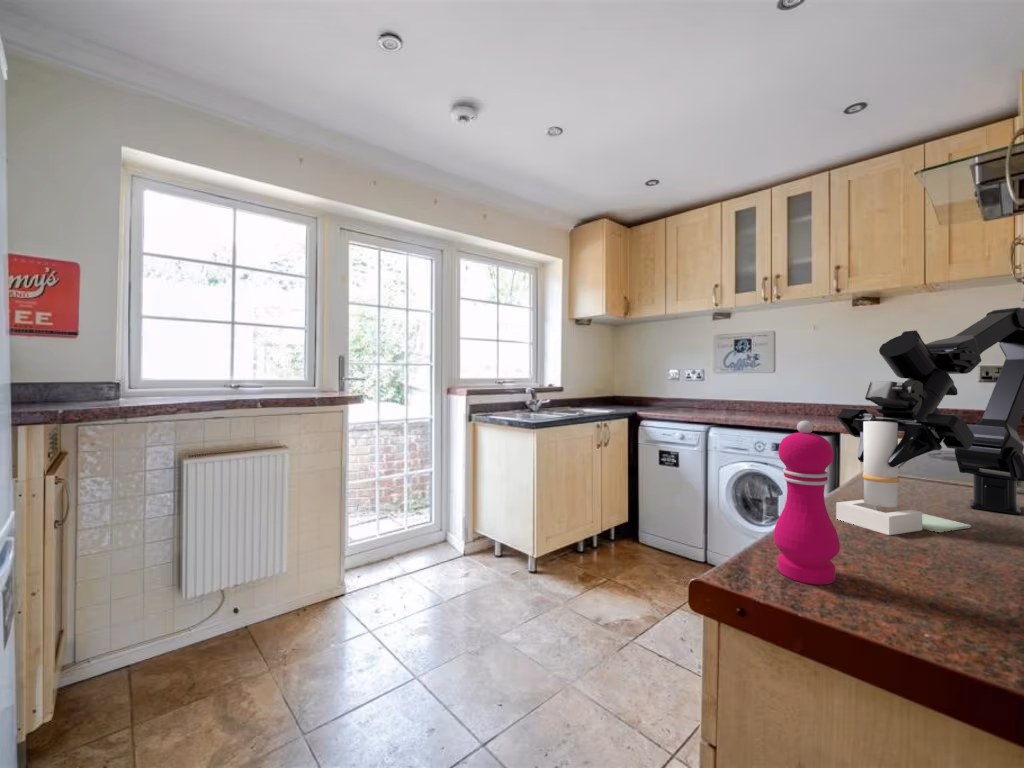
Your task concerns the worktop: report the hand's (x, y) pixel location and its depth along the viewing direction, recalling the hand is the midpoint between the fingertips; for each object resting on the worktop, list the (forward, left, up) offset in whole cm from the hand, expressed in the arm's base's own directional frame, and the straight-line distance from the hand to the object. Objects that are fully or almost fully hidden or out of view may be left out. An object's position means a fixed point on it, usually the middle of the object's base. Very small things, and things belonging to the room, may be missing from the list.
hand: (874, 462), depth 78 cm
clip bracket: (-1, +1, -11) cm, 11 cm away
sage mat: (-7, +6, -11) cm, 14 cm away
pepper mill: (+31, -3, -11) cm, 33 cm away
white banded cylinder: (-1, +1, -7) cm, 7 cm away
